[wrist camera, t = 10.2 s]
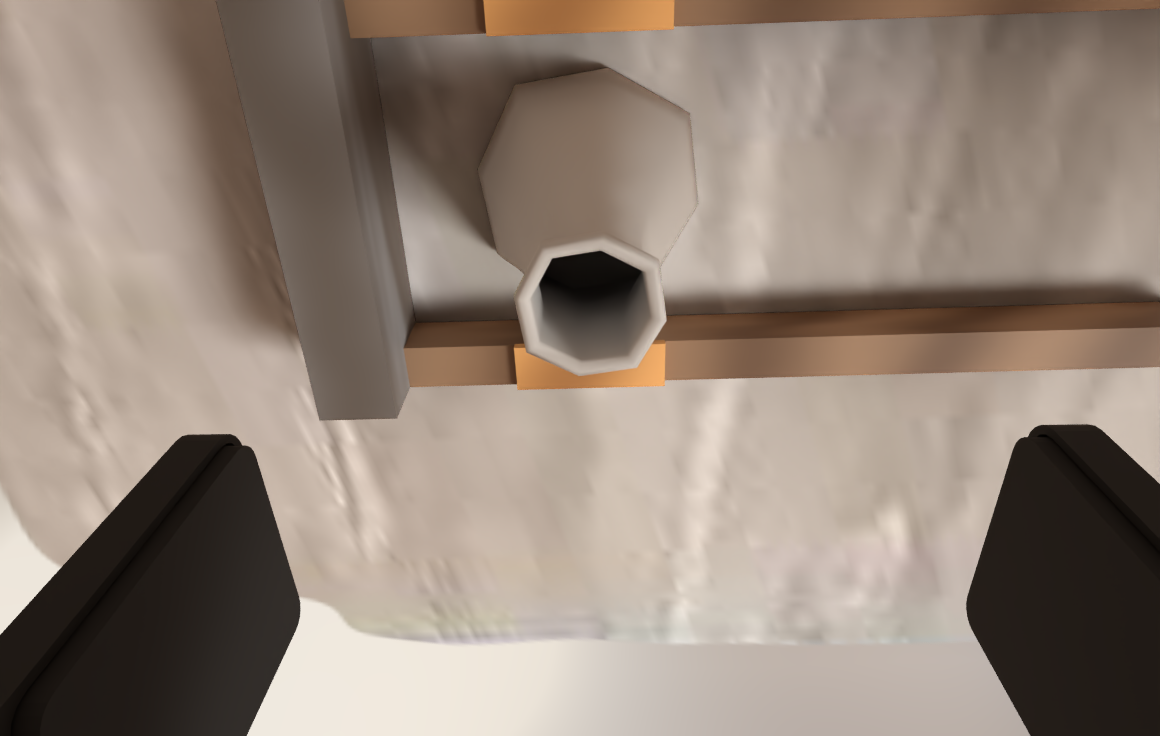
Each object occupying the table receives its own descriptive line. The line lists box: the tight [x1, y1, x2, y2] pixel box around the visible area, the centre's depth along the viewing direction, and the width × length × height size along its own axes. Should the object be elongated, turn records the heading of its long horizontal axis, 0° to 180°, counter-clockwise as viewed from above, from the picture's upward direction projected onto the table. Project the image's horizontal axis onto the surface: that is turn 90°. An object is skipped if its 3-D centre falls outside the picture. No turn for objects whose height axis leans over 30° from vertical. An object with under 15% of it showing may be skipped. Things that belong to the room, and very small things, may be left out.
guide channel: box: [216, 0, 1160, 420], centre depth 22 cm, size 29×13×4 cm, turn 92°
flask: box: [477, 68, 698, 376], centre depth 19 cm, size 7×7×10 cm
